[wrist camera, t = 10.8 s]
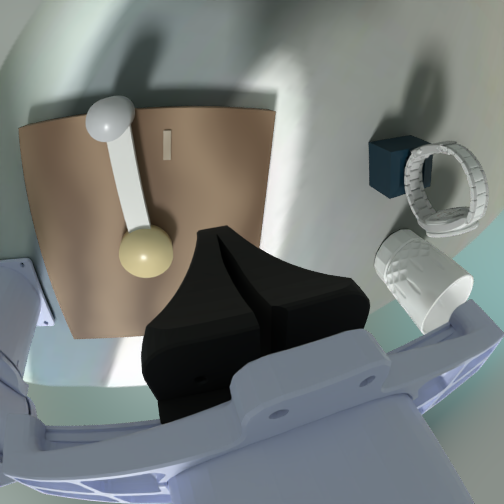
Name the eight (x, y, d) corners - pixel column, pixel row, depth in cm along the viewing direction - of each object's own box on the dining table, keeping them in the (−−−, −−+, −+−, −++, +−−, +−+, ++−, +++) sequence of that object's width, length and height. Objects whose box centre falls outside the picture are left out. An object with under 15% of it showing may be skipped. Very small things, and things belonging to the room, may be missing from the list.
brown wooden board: (76, 328, 25) (74, 339, 24) (27, 124, 14) (17, 128, 13) (245, 314, 30) (249, 325, 29) (268, 109, 19) (276, 111, 18)
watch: (369, 203, 27) (447, 267, 18) (367, 123, 22) (468, 165, 13) (409, 191, 27) (485, 245, 19) (411, 118, 23) (505, 156, 14)
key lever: (176, 264, 22) (180, 291, 20) (128, 274, 21) (126, 302, 19) (145, 88, 15) (141, 89, 12) (84, 104, 14) (68, 109, 11)
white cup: (426, 238, 33) (479, 285, 25) (390, 285, 35) (436, 337, 27) (399, 212, 29) (463, 264, 21) (357, 269, 31) (410, 330, 23)
